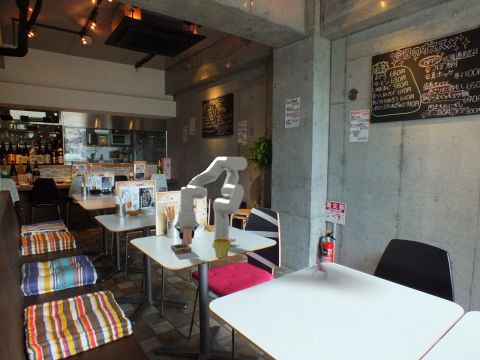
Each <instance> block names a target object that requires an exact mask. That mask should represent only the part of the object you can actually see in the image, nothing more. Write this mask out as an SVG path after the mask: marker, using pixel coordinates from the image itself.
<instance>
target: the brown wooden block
mask: <svg viewBox="0 0 480 360" xmlns="http://www.w3.org/2000/svg"><path fill="white" fill-rule="evenodd" d="M182 233H183V239H182V240H181V243H180V244H183V245H189V246H191V245H192V244H193V240H192V239H193V238H192V227H186V228H183V230H182Z"/></svg>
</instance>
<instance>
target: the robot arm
mask: <svg viewBox="0 0 480 360" xmlns="http://www.w3.org/2000/svg"><path fill="white" fill-rule="evenodd" d="M247 166H248V161H247V159H246V158H245V157H242V156H217V157H216V158H215V159H214V160H213V161H212V162H211V164H210V165H209V166H208V167H207V168H206V170H205V171H203V172H202V173H200V174H198V175H197V176H195V177H194V178H192V180H190V182H189V183H188V184H187V186H183V187H181V189H180V209H178V214H177V222H175V224H174V225H173V228H175V230H176V231H178V234H179V235H178V238H179V239H180V240H181V241H182V239H183V233H182V230H183V228H186V227H192V239H194V237H195V232H196V230H197V229H198V228H199V227H200V226H201V225H200V223H199V222H198V221H197V217H196V211H195V209H197V205H195V199H197V200H202V199H205V198H206V196H207V195H208V191H207V190H208V189H206V187H204V185H206V184H209V183H212V182H215V181H216V180H217V179H218V178H219V176H220V175H221V174H222V173H223V172H224V171H226V177H225V180H224V183H223V185H222V186H221V190H220V195H222V196H223V197H217V198H216V199H215V200H214V201H213V204H212V208H213V212H214V213H213V214H214V230H213V231H214V233H213V234H214V237H213V238H214V239H213V241H214V240H215V239H218V238H225V239H229V240H231V243H236V241H237V240H236V238H230V218H229V217H230V216H229V215H236V213H237V212H238V210H239V209H240V206H241V203H242V200H243V198H244V195H245V189H244V187H243V185H242V184H239V180H240V176H239V172H238V171H243V170H245V169H246V168H247ZM211 246H212V247H214V246H213V242H212V243H211Z"/></svg>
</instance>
